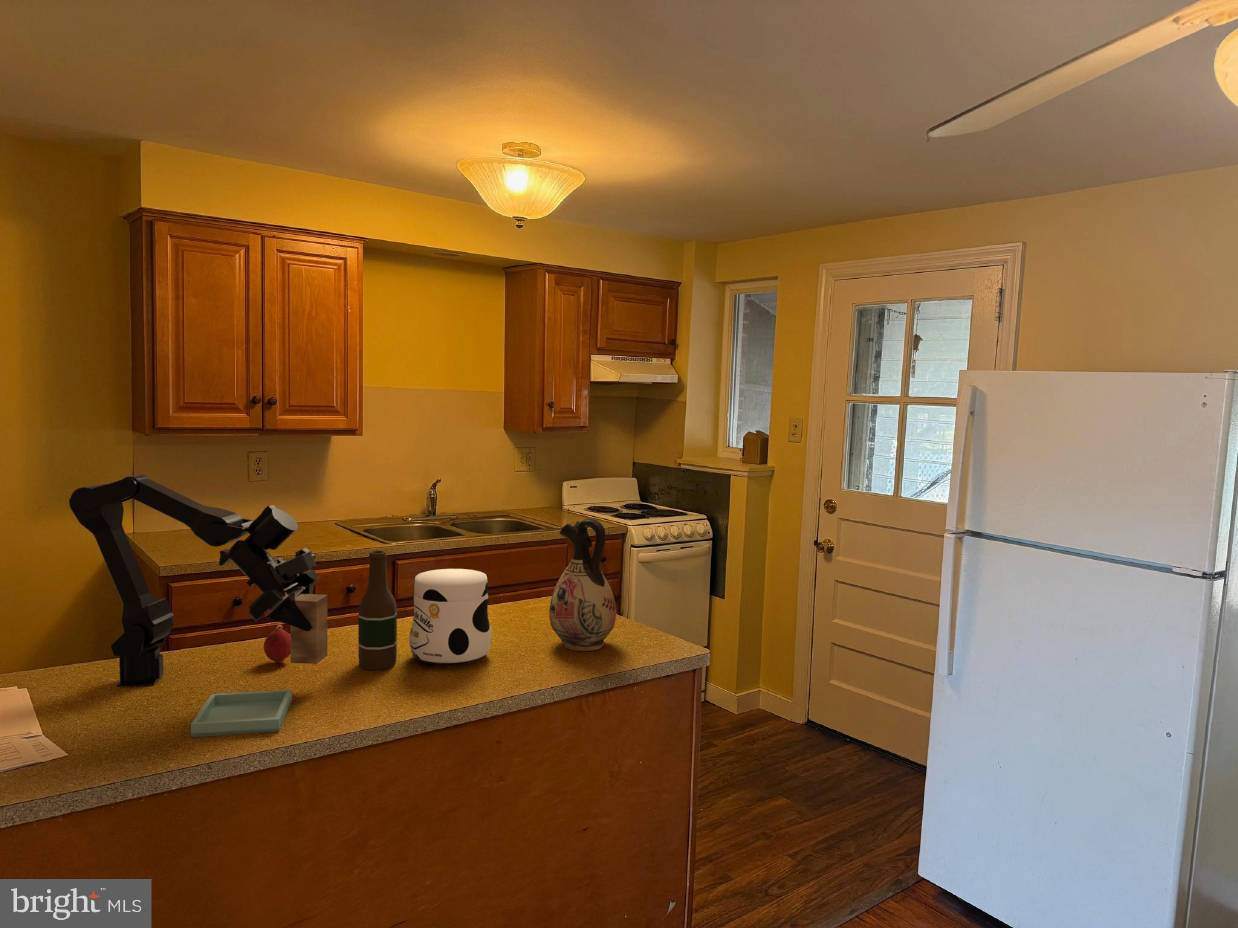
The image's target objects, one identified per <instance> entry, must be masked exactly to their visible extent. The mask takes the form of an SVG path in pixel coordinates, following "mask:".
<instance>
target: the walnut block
mask: <svg viewBox="0 0 1238 928" xmlns="http://www.w3.org/2000/svg"><path fill="white" fill-rule="evenodd" d="M295 604H296V606H297V607H298V608H299V610H300V611H301V612H302V614H303V615H304V616H305V617H306V619H307V620H308V621H309V623H310V624H311V626H312V629H311V630H310V631H305V630H302V629H300V628H297V627H294V626H292V625H290V635H291V654H290V663H291V664H306V665H307V664H308V665H309V664H310V665H318V664H319V663H320V662H321V661H322V660H324V659H325V658H326V657H327V656H328V594H318V593H317V594H315V593H313V594H301V595H299V596H297V597H295Z"/></svg>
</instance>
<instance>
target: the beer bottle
mask: <svg viewBox="0 0 1238 928" xmlns="http://www.w3.org/2000/svg"><path fill="white" fill-rule="evenodd" d="M367 557H368V558H369V568H368V584H367V588H366V592H365V593H364V595H363V597H362V598H361V601H360V602H359V605H358V615H357V617H358V627H357V628H358V634H357V635H358V639H357V641H358V643H357V644H358V645H357V646H358V666H359V667H360V668H362V669H364V670H366V671H384V670H387V669H390V668H394V666H395V664H396V662H397V658H398V657H397V654H398V651H397V650H398V644H397V643H398V633H397V632H398V611H397V610H398V609H397V608H398V607H397V601H396V599H395V597H394V595H393V593H392V592H391V591H390V589H389V585H388V575H387V573H388V571H387V561H386V560H387V559H386V558H387V557H388V553H387V551H384V550H372V551H370V552H369V554H368V556H367Z"/></svg>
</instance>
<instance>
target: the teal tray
mask: <svg viewBox="0 0 1238 928" xmlns="http://www.w3.org/2000/svg"><path fill="white" fill-rule="evenodd" d="M292 702H293V689H282V690H281V689H280V690H279V689H278V690H265V691H264V690H263V691H245V692H243V691H242V692H227V693H226V692H222V693H211V694H210V696H209V697H208V698H207V700H206V702H204V704H203V706H202V707H201V709H200V710H199V711H198V713H197V715H195V718H194V719H193V721H192V722H191V724H190V737H191V738H198V737H199V738H200V737H203V738H204V737H217V736H219V737H220V736H231V735H249V734H264V733H279V732H280V731H281V728H282V726H283V724H284V722H285V719H286V717H287V714H288V712H289V710H290V706H291V705H292Z"/></svg>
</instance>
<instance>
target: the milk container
mask: <svg viewBox="0 0 1238 928" xmlns="http://www.w3.org/2000/svg"><path fill="white" fill-rule="evenodd" d="M413 585H414V586H413V587H414V588H413V589H414V591H413V592H414V595H413V620H412V623H411V627H410V631H409V640H408V641H409V648H410V652H411V654H412V656H413V658H415V659H416V660H418V661H419V662H421V663H425V664H427V665H430V666H431V665H433V666H439V667H440V666H442V667H444V666H445V667H446V666H449V667H450V666H451V667H453V666H454V667H455V666H463V665H467V664H471V663H475V662H478V661H480V660H481V659H483V658H484V657H486V656H487V655H488V653H489V651H490V649H491V647H492V638H493V637H492V636H493V634H492V627H491V624H490V619H489V614H488V610H489V609H488V606H489V594H488V593H489V582H488V577H487V574H486V573H484V572H482V571H480V570H475V569H465V568H442V569H431V570H427V571H424V572H420V573H418V574H417V575H415V578H414V584H413Z"/></svg>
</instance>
